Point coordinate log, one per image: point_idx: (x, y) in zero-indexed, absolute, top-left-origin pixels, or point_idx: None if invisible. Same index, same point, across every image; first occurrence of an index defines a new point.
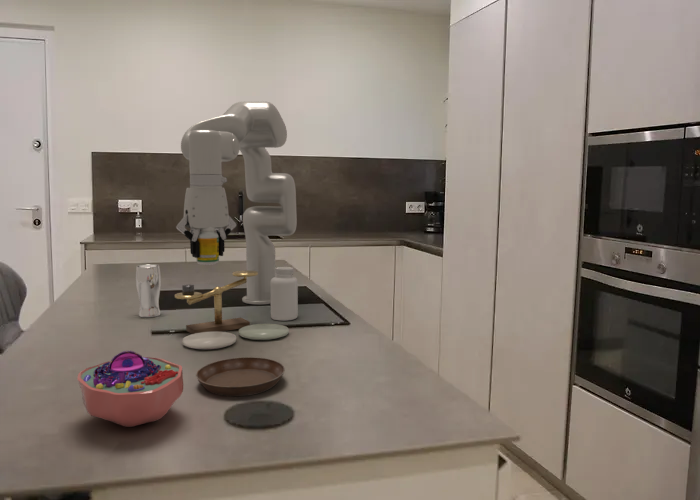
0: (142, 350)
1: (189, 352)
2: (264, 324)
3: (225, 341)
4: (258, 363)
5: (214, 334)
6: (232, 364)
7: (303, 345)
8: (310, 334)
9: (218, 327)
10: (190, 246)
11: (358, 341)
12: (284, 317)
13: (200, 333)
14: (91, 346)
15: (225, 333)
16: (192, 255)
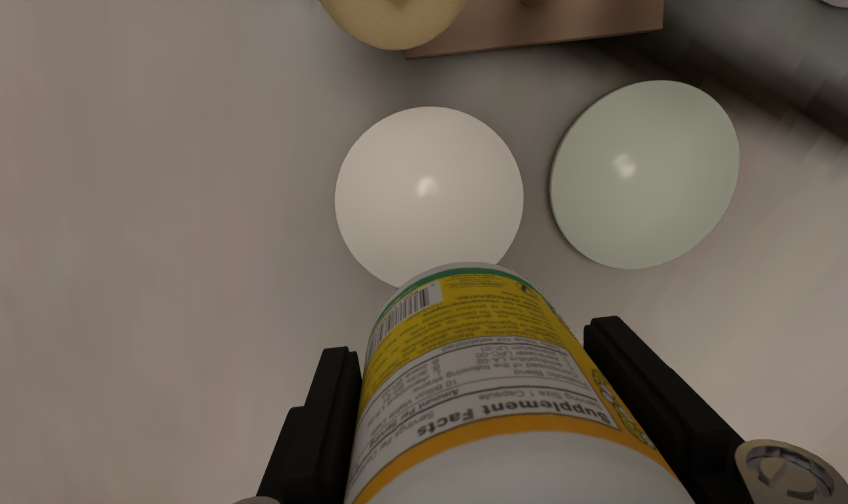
0: (200, 175)
1: (345, 266)
2: (690, 101)
3: None
4: None
5: (460, 162)
6: None
7: (673, 343)
8: (768, 243)
9: (513, 45)
10: (271, 463)
11: (826, 373)
12: (835, 1)
13: (417, 121)
14: (6, 27)
15: (501, 166)
16: (324, 355)
